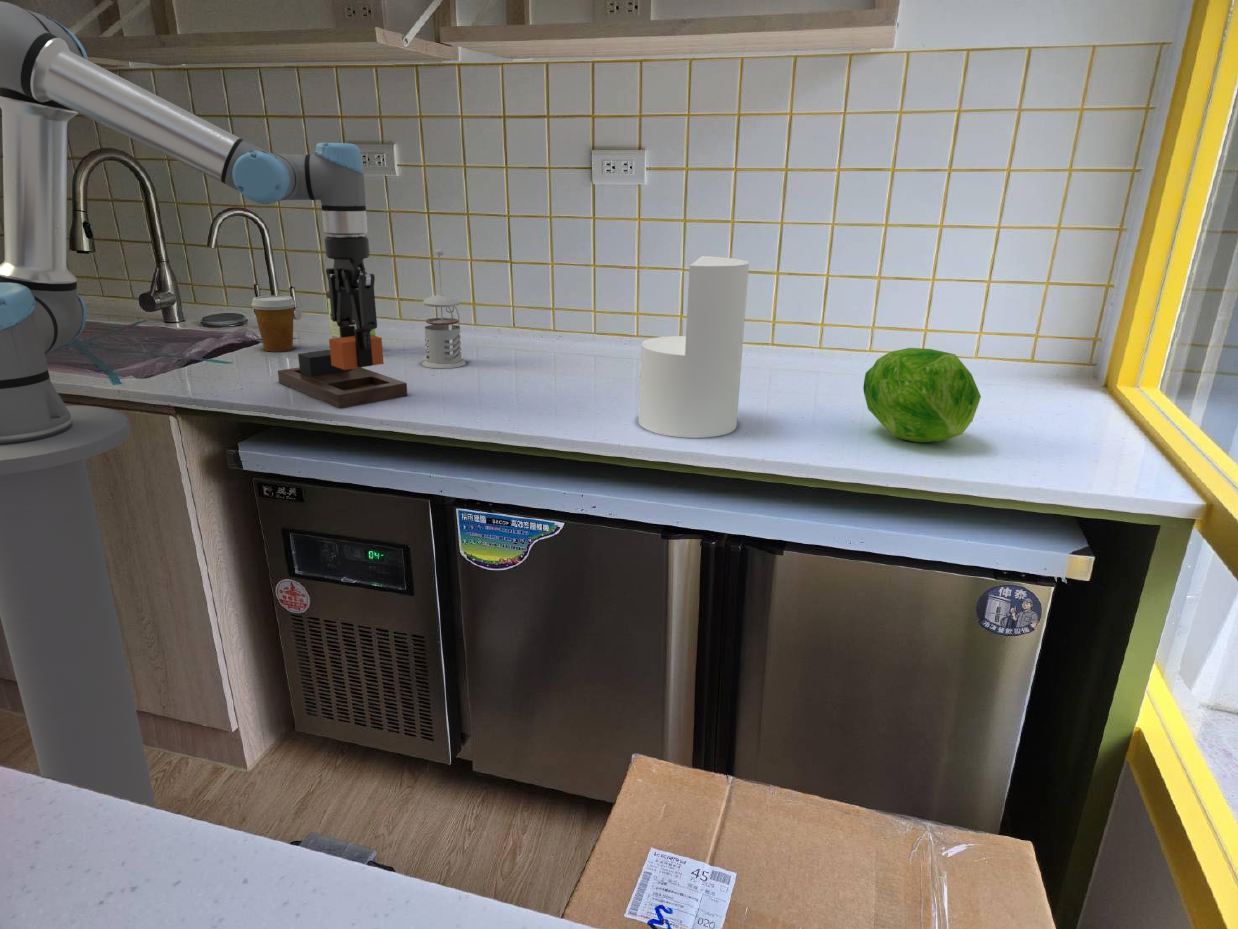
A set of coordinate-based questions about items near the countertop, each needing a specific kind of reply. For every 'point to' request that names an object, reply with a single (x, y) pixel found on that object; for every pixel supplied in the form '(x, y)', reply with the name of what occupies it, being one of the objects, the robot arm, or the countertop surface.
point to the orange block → (353, 352)
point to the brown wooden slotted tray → (345, 386)
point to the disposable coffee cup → (275, 321)
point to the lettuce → (921, 394)
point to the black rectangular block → (317, 363)
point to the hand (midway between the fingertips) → (357, 363)
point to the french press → (442, 333)
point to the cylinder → (698, 357)
